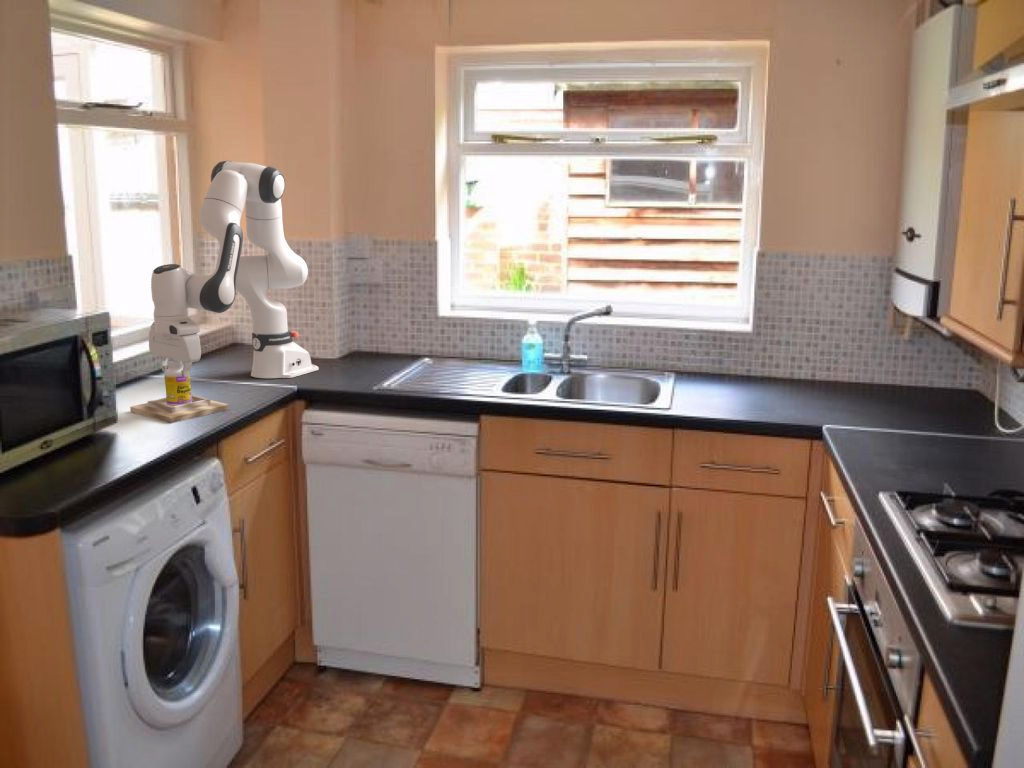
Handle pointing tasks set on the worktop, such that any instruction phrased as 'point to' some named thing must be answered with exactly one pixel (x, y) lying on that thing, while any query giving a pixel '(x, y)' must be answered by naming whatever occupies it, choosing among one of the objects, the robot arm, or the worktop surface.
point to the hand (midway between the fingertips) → (176, 373)
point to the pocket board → (179, 409)
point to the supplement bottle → (177, 384)
